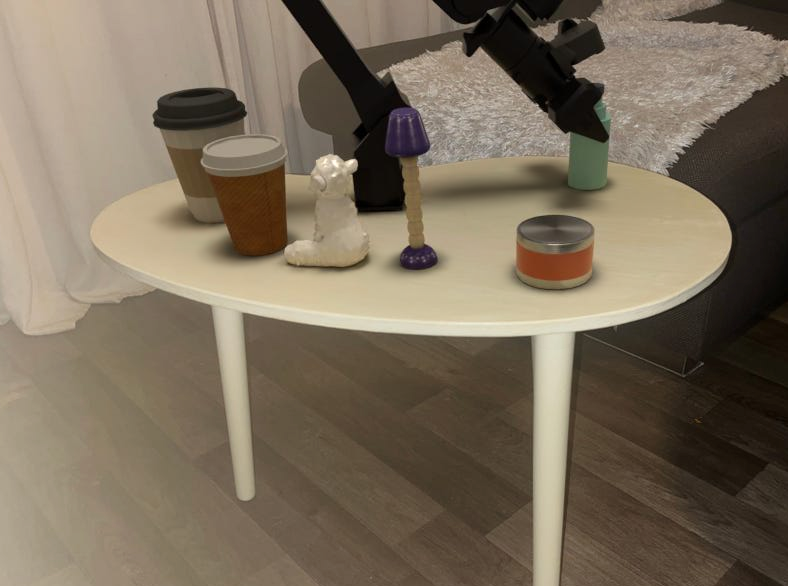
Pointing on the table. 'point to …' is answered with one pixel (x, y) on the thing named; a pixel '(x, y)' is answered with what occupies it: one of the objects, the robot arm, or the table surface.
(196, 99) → the coffee cup
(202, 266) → the table surface
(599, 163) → the bottle
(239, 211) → the disposable coffee cup
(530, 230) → the can
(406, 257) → the toy lamp
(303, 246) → the white creature statuette
